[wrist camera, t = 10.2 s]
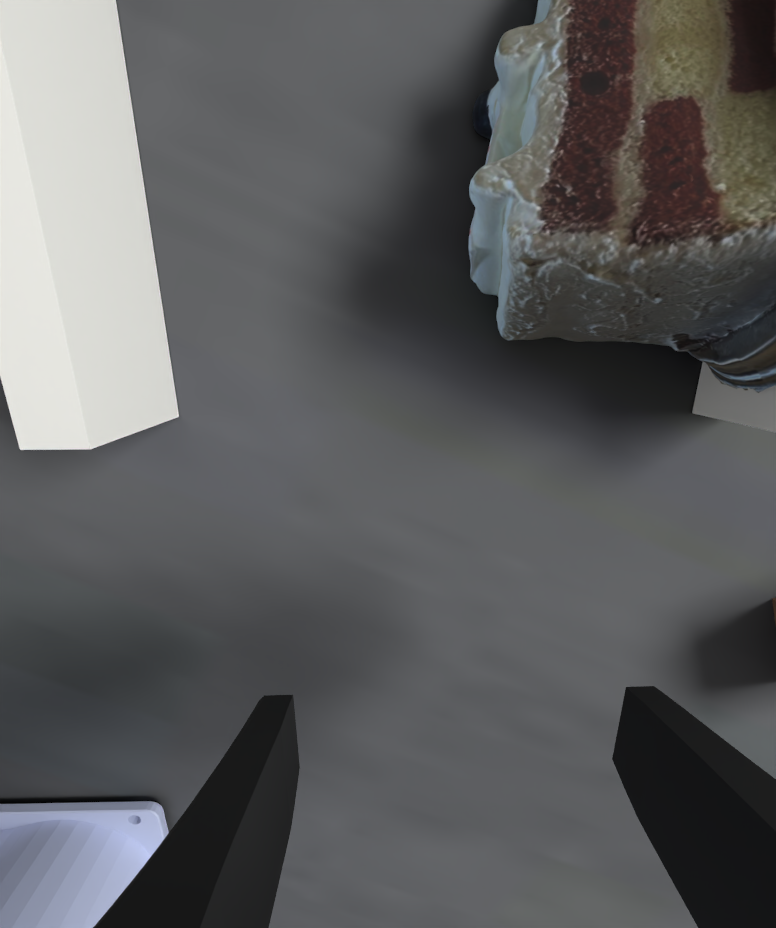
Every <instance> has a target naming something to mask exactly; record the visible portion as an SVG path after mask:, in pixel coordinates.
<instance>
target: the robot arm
mask: <svg viewBox="0 0 776 928" xmlns="http://www.w3.org/2000/svg"><path fill="white" fill-rule="evenodd" d="M612 759H613V762H614V764H615V766H616V769H617V771H618V774H619V776H620V778H621V781H622V783H623V786H624V788H625V790H626V793H627V795H628V797H629V799H630V801H631V804H632V806H633V808H634V810H635V813H636V815H637V817H638V819H639V821H640V823H641V825H642V826H643V828H644V830H645V832H646V834H647V836H648V838H649V839H650V841H651V843H652V845H653V847H654V848H655V850H656V852H657V854H658V856H659V858H660V859H661V861H662V863H663V865H664V867H665V869H666V870H667V872H668V874H669V876H670V878H671V879H672V881H673V883H674V885H675V887H676V888H677V890H678V892H679V894H680V896H681V897H682V899H683V901H684V903H685V905H686V906H687V908H688V910H689V912H690V914H691V915H692V917H693V919H694V921H695V923H696V924H697V926H698V928H776V779H774V778H773V777H772V776H770V775H769V774H768V773H766V772H765V771H764V770H763V769H761V768H760V767H759V766H757V765H756V764H755V763H753V762H752V761H751V760H749V759H748V758H747V757H746V756H744V755H743V754H742V753H740V752H739V751H738V750H736V749H735V748H734V747H733V746H731V745H730V744H729V743H727V742H726V741H725V740H724V739H722V738H721V737H720V736H718V735H717V734H716V733H714V732H713V731H712V730H711V729H709V728H708V727H707V726H705V725H704V724H703V723H702V722H700V721H699V720H698V719H696V718H695V717H694V716H693V715H691V714H690V713H689V712H687V711H686V710H685V709H684V708H682V707H681V706H680V705H678V704H677V703H676V702H674V701H673V700H672V699H670V698H669V697H668V696H667V695H665V694H664V693H662V692H661V691H660V690H658V689H657V688H656V687H654V686H648V687H626V690H625V696H624V701H623V706H622V711H621V716H620V722H619V727H618V732H617V737H616V743H615V748H614V753H613V758H612ZM299 768H300V767H299V756H298V745H297V734H296V723H295V712H294V701H293V695H270V696H264V697H262V698H261V699H260V700H259V702H258V704H257V705H256V707H255V709H254V710H253V712H252V714H251V715H250V717H249V718H248V720H247V722H246V723H245V725H244V726H243V728H242V729H241V731H240V733H239V734H238V736H237V737H236V739H235V740H234V742H233V743H232V745H231V746H230V748H229V749H228V751H227V752H226V754H225V755H224V757H223V758H222V760H221V761H220V763H219V764H218V766H217V767H216V769H215V770H214V771H213V773H212V774H211V776H210V777H209V779H208V780H207V781H206V783H205V784H204V786H203V787H202V788H201V790H200V791H199V793H198V794H197V796H196V797H195V798H194V800H193V801H192V803H191V804H190V805H189V807H188V808H187V810H186V811H185V812H184V814H183V815H182V816H181V818H180V819H179V820H178V822H177V823H176V824H175V826H174V827H173V828H172V829H171V831H170V832H168V828H167V823H166V819H165V814H164V810H163V808H162V806H161V805H160V804H159V803H157V802H153V801H131V802H78V803H24V804H0V928H268V927H269V923H270V918H271V914H272V910H273V905H274V901H275V897H276V892H277V888H278V884H279V879H280V875H281V870H282V866H283V861H284V857H285V853H286V848H287V844H288V839H289V835H290V830H291V825H292V818H293V811H294V804H295V797H296V790H297V783H298V775H299Z"/></svg>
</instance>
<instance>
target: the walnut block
mask: <svg viewBox="0 0 776 928" xmlns="http://www.w3.org/2000/svg"><path fill="white" fill-rule="evenodd" d="M772 602H773V610H774V617H775V625H776V598H773V599H772Z"/></svg>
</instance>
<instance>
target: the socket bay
mask: <svg viewBox="0 0 776 928" xmlns="http://www.w3.org/2000/svg"><path fill="white" fill-rule="evenodd" d="M0 377H1V381H2V385H3V388H4V392H5V396H6V400H7V403H8V407H9V411H10V414H11V418H12V422H13V425H14V429H15V433H16V436H17V440H18V444H19V448H20V450H66V449H93V448H96V447H98V446H101V445H104V444H106V443H109V442H112V441H115V440H117V439H120V438H123V437H125V436H128V435H131V434H134V433H136V432H139V431H142V430H145V429H147V428H150V427H153V426H155V425H158V424H161V423H164V422H166V421H169V420H172V419H174V418H177V417H179V413H178V406H177V400H176V393H175V387H174V380H173V374H172V367H171V360H170V354H169V347H168V341H167V334H166V327H165V321H164V314H163V308H162V301H161V295H160V288H159V281H158V275H157V268H156V262H155V255H154V249H153V242H152V235H151V229H150V222H149V216H148V209H147V202H146V196H145V189H144V183H143V176H142V170H141V163H140V156H139V150H138V143H137V137H136V130H135V124H134V117H133V110H132V104H131V97H130V91H129V84H128V77H127V71H126V64H125V58H124V51H123V45H122V38H121V31H120V25H119V18H118V12H117V5H116V0H0ZM692 413H693V414H698V415H702V416H706V417H711V418H715V419H719V420H724V421H728V422H733V423H737V424H741V425H746V426H750V427H754V428H759V429H763V430H768V431H772V432H776V386H772V387H770V388H767V389H765V390H763V391H761V392H759V393H758V392H756V391H755V390H754V389H750V388H748V390H744V389H742V388H737V389H736V388H733V387H730V386H728V385H725V384H721V383H720V381H719V380H718V379H717V378H715V376H714V375H713V373H712V371H711V369H709V366H708V365H707V364H706V363H705V362H703V363H702V368H701V372H700V377H699V382H698V387H697V391H696V396H695V401H694V406H693V411H692Z"/></svg>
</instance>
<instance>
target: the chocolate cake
mask: <svg viewBox="0 0 776 928" xmlns="http://www.w3.org/2000/svg"><path fill="white" fill-rule="evenodd" d="M494 63H495V68H496V71H497V74H498V78H499V81H498V82H497V84H496V85H495V86H494V88H492V89H490V90H487V91H485V92H483V93H481V94H480V95H479V96H478V98H477V100H476V102H475V105H474V109H473V124H474V128H475V131H476V132H477V133H478V134H479V135H481V136H483V137H485V138H488V139H490V144H489V149H488V153H487V158H486V163H485V165H484V166H483V167H481V168H480V169H479V170H478V171H477V172H476V173H475V175H474V176H473V178H472V179H471V182H470V186H469V196H470V199H471V201H472V203H473V204H474V206H475V213H474V217H473V220H472V223H471V228H470V232H469V246H468V250H469V257H470V262H471V270H470V276H471V279H472V280H473V281H474V282H475V283H476V284H477V286H478V288H479V289H480V291H481V292H483V293H484V294H490V295H496V296H498V299H499V300H498V302H499V307H498V309H497V315H496V319H497V323H498V330H499V332H500V334H501V336H502V337H503V338H504V339H506V340H508V341H511V340H534V339H541V338H546V337H560V338H562V339H565V340H569V341H576V342H584V341H598V342H604V341H622V342H638V343H644V344H657V345H666V346H671V347H672V348H673V349H674V350H675V351H687V352H688V353H689V354H690V355H692V356H693V357H695V358H696V359H698V360H701V361H703V362H705V363H706V364H707V365H708V366H709V369H711V371H712V373H713V375H714V376H715V378H717V379H718V380H719V381H720V383H721V384H725V385H728V386H730V387H733V388H736V389H737V388H742V389H744V390H748V388H750V389H754V390H755V391H756V392H758V393H759V392H761V391H763V390H765V389H767V388H770V387H772V386H776V0H538V4H537V12H536V18H535V21H534V24H533V25H529V26H521V27H518V28H515V29H512V30H509V31H507V32H505V33H504V34H503V35H502V37H501V39H500V42H499V44H498V47H497V50H496V53H495V58H494Z"/></svg>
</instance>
